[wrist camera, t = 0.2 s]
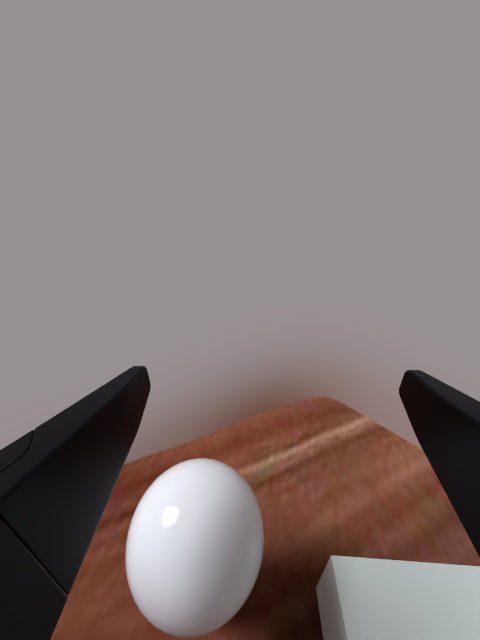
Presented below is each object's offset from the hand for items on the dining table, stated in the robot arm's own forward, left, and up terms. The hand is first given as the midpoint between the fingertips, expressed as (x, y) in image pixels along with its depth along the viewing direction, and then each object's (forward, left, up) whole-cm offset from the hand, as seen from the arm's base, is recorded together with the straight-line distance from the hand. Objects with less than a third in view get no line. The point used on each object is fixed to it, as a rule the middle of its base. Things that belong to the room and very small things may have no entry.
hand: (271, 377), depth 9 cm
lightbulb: (-1, +3, -17) cm, 17 cm away
